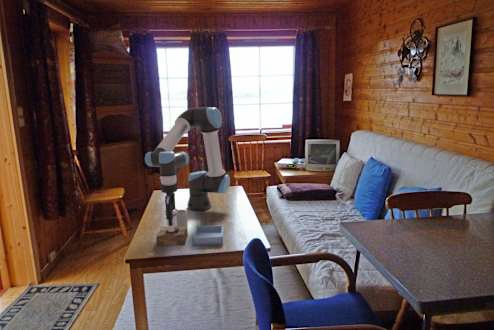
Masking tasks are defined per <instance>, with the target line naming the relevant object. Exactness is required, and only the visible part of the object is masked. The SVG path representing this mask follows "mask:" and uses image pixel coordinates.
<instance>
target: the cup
mask: <svg viewBox="0 0 494 330" xmlns="http://www.w3.org/2000/svg"><path fill="white" fill-rule="evenodd" d="M177 210H178V214H176V215H177V226H187V228H188V224H189V223H188V211H187V210H186V209H177Z"/></svg>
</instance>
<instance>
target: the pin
mask: <svg viewBox="0 0 494 330" xmlns="http://www.w3.org/2000/svg"><path fill="white" fill-rule="evenodd" d="M178 210H179V209H178V208H176V209H173V212H172V214H173V220H174V231H173V232H168V219H166V218H165V220H166V227H167V233H178V229H177V215H176V214H178ZM163 213H164V215H165V216H166V209H164V211H163Z"/></svg>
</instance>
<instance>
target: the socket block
mask: <svg viewBox="0 0 494 330" xmlns="http://www.w3.org/2000/svg"><path fill="white" fill-rule="evenodd" d="M177 229H178V233H167V226H161V228H160V229H159V231H158V233H157V235H156V247H169V246H171V247H173V246H185V244H186V242H187V238H188V235H189V233H188V231H189V230H188V227H187V226H177Z"/></svg>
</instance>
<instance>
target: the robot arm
mask: <svg viewBox="0 0 494 330" xmlns="http://www.w3.org/2000/svg"><path fill="white" fill-rule="evenodd" d="M222 124H223V116H222V113H221V112H220V110H219V108H217V107H211V106H208V107H207V106H205V107H191V108H188V109H186V110H185V111H183V112H182V113H181V114H179V115H178V117H176V119H175V120H174V124H173V126H172V127H171V129H170V130H169V131H168V133H166V135H165V136H164V138H162V140H161V141H160V143H159V144H158V145H157V147H156V148H155V149H154V150H153V151H148V152H146V154H145V155H144V156H145V157H144V162H145V164H146V165H147V166H148V167H154V168H159V173H160V177H159V178H158V179H159V180H160V183H161V185H160V188H161V192H162V193H164V194H165V196H164V204H165V210H166V215H165V220H166V219H168V232H173V231H174V220H173V214H172V212H173V209H177V207H176V198H175V197H176V196H175V193H176V192H177V191H178V184H177V182H178V180H177V179H178V177H177V169H180V168H183V167H185V166H187V165H188V164H189V162H190V156H189V154H188V152H186V151H178V152H174V151H173V150H175V147H176V146H177V144H178V143H179V142H180V141H181V139H183V136H184V135H185V133H187V132H189V131H190V130H191V129H196V128H197V129H198V130H199V132H200V133H201V134H202V135H203V142H204V150H205V156H206V161H207V163H206V164H207V169H208V171H206V170H201V171H200V170H199V171H195V172H191V173H189V175H188V180H187V181H188V189H189V190H188V193H189V198H188V202H187V206H186V207H187V209H188V210H190V211H196V212H197V211H206V210H209V209H211V208H212V202H211V200H210V199H211V198H209V193H210V194H211V193H212V194H226V193H227V192H228V191H229V188H230V185H231V184H230V183H231V177H230V175H229V174H227V173H226V170H225V169H223V162H222V155H221V149H220V148H221V147H220V142H219V141H220V140H219V135H218V133H219V131H220V128H221V126H222Z"/></svg>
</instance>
